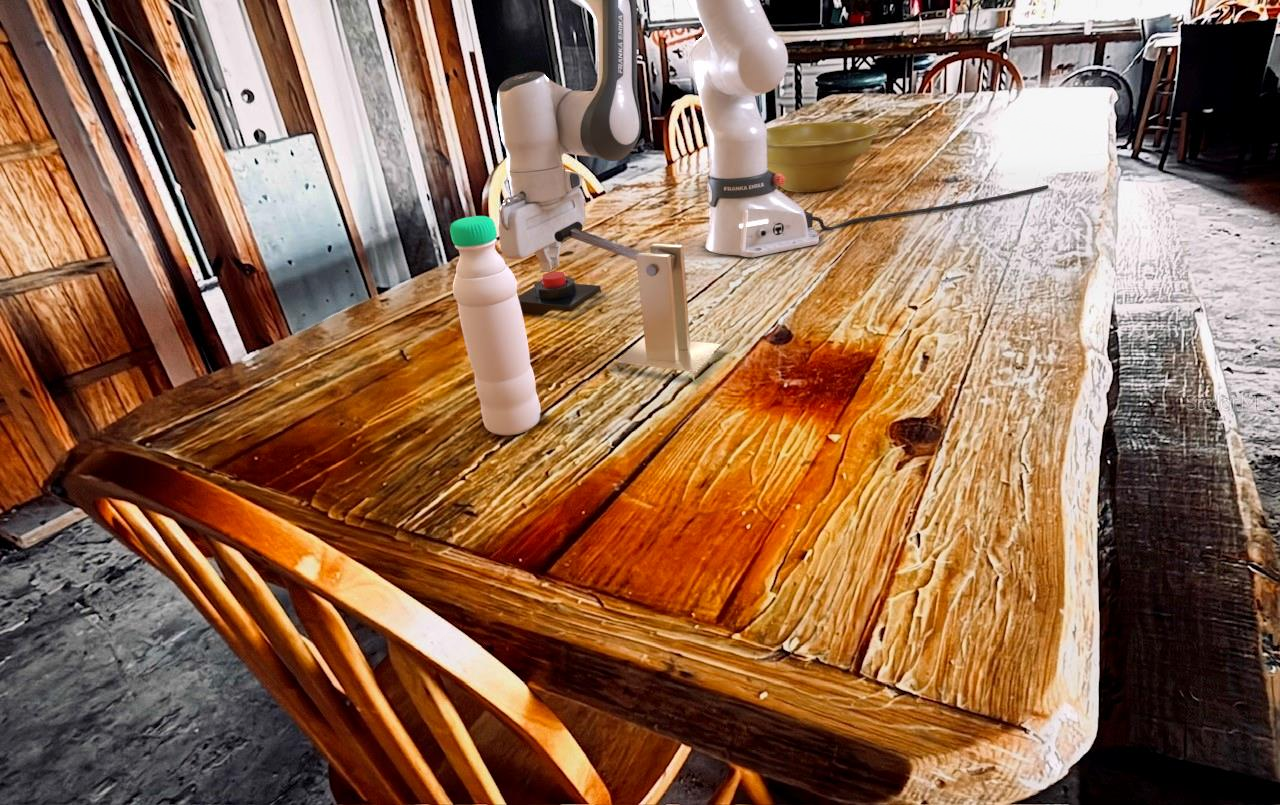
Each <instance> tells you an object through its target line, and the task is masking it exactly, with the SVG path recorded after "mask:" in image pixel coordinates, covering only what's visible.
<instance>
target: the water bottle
mask: <svg viewBox="0 0 1280 805" xmlns="http://www.w3.org/2000/svg"><path fill="white" fill-rule="evenodd" d="M449 234H450V237H451V241H452V243H453V245H454V248H455V249H456V250H457V251H458V254H459V259H458V261H457V264H456V268H455V269H456V270H455V271H456V272H455V275H454V279H453V283H452V294H453V298H454V299H455V301H456V302H457V310H458V315H459V316H458V317H459V321H460V327H461V331H462V335H463V340H464V345H465V349H466V352H467V356H468V359H469V363H470V366H471V369H472V372H473V375H474V387H475V391H476V395H477V397H478V400H479V403H480V412H481V417H482V421H483V422H482V423H483V425H484V427H485V429H486V430H487V431H488V432H490V433H492V434H494V435H497V436H514V435H520V434H523V433H525V432H527V431H530V430H531V429H533V428H534V427H535V426H537V425H538V423H539V422H540V421H541V418H542V413H541V412H542V407H541V404H540V399H539V395H538V393H537V387H536V386H537V384H536V377H535V373H534V368H532V365H531V356H530V355H531V354H530V348H529V342H528V336H527V328H526V324H525V320H524V313H522V310H521V306H520V302H519V299H518V296H519V295H518V293H517V291H518V282H517V279H516V276H515V274H514V272H513V271H512V270H511V269H510V267H509V266H508V265H507V264H506V262H505V259H504V258H503V257H502V256H501V255H500V253H498V251H497V249H496V247H495V246H496V243H497V241H498V239H497V228H496V224H495V221H494V219H492V217H489V216H485V215H474V216H468V217H462V218H459V219H456V220H454V221H453V222H452V223H451V224H450V227H449Z"/></svg>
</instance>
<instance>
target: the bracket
mask: <svg viewBox="0 0 1280 805" xmlns="http://www.w3.org/2000/svg"><path fill="white" fill-rule="evenodd" d="M656 249H657V250H660V251H663V252H666V253H669V254H652V252H654V251H655V250H656ZM684 249H685V248H684V245H683V244H668V243H667V244H665V243H652V244H651V245H649V250H650V252H649V253H648V252H645V253H639V254H637V255H636V260H637V261H636V260H635V261H636V269H637V278H638V288H639V298H640V307H641V317H642V328H643V336H642V337H641V338H640V339H639V340H638V341H637V342H636V343H635V344H634V345H632V346H631V348H629V349H628V350H627V351H625V353H623V354H622V355H621V356H620V357H619V358H618V359H617V360H615V363H620V364H627V365H628V364H629V365H638V366H645V367H652V368H659V369H667V370H675V371H682V372H689V373H697V372H698V371H699V370H700V369H701V368H702V367H703V365H704V364H706V362H707V361H708V360H709V359H710V358H711V357H712V356H713V355H714V353H716V351H717V350H718V349H719V348H720V346H721V345H722V344H720V343H711V342H703V341H702V342H701V341H692V340H691V337H690V336H691V335H690V324H689V323H690V322H689V308H688V296H687V295H688V294H687V293H688V292H687V278H686V266H685V251H684ZM670 254H672V255H675V256H676V257H675V262H674V267H673V273H672V268H671V255H670Z"/></svg>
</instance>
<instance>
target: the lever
mask: <svg viewBox="0 0 1280 805" xmlns="http://www.w3.org/2000/svg"><path fill="white" fill-rule="evenodd" d="M583 229H584V227H583V226H582V224H581V223H580V222H574V223H573V224H571V225H569V226H567V227H565V228H563V229H561V230H559V231H557V232H556V233H555V235H554V237H555V239H556V241H558V242H561V243H562V242H564V241H566V240H567V239H569V238H571V239H574V240H577V241H579V242H583V243H585V244H587V245H590V246H593V247H596V248H600V249H603V250H605V251H608V252H611V253H613V254H616V255H619V256H622V257H625V258H628V259H631V260H634V261H636V262H637V260H636V255H637V254H639V253H646V251H645V252H644V251H642V250H638V249H636V248H633V247H630V246H628V245H624V244H621V243H618V242H615V241H613V240H610V239H607V238H603V237H601V236H598V235H595V234H592V233H589V232H586V231H583ZM652 254H669V253H666V252H663V251H660V250H657V249H656V250H655V251H654V252H652ZM670 255H671V268H672V273H673V267H674V262H675V257H676V256H675V255H672V254H670Z"/></svg>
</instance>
